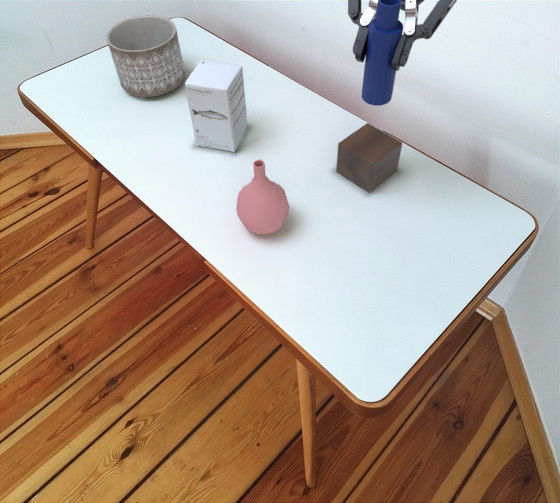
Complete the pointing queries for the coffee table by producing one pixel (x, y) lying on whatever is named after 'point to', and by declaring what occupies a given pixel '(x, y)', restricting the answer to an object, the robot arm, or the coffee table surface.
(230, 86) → the white packaging box
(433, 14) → the robot arm
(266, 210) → the pink bud vase
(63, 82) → the coffee table surface
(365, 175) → the block
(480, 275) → the coffee table surface
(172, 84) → the planter
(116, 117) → the coffee table surface
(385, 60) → the bottle
